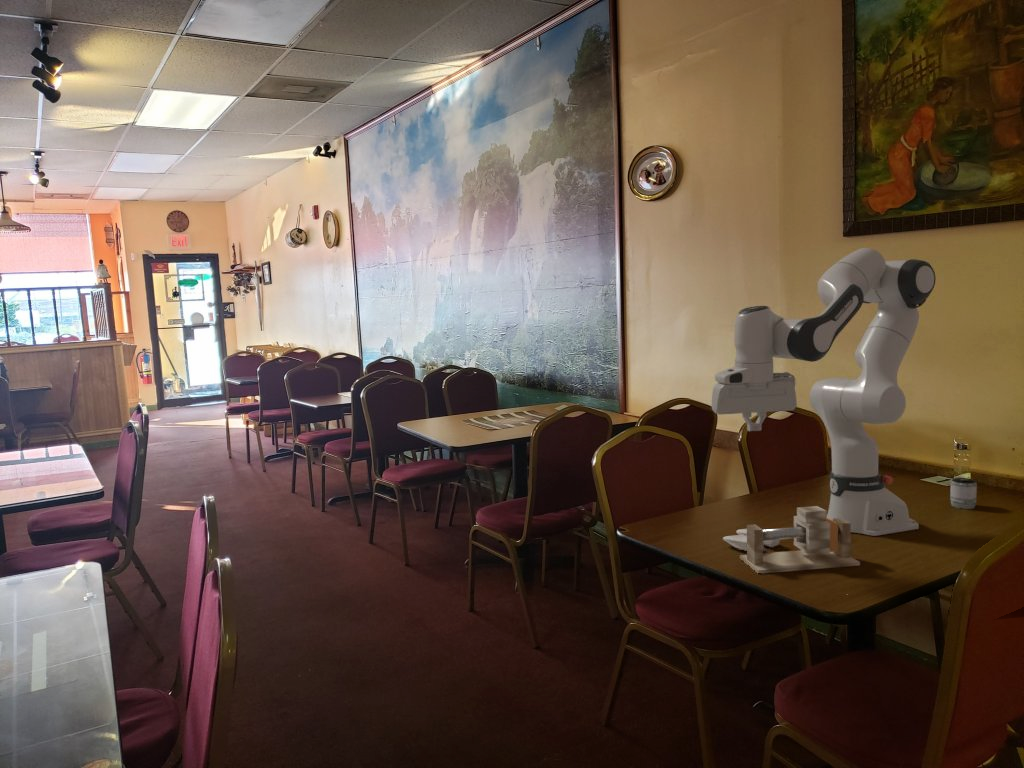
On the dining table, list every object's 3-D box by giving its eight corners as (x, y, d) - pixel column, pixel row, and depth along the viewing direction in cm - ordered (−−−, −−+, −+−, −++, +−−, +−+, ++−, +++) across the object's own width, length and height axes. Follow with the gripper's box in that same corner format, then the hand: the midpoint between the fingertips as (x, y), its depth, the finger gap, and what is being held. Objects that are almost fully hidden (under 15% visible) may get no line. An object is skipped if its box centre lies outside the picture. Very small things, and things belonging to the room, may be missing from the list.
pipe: (834, 533, 169) (834, 522, 169) (840, 536, 166) (840, 525, 166) (756, 539, 167) (756, 528, 167) (761, 542, 164) (761, 531, 164)
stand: (835, 550, 173) (835, 514, 172) (860, 565, 163) (860, 526, 163) (739, 558, 171) (739, 521, 170) (758, 573, 161) (758, 534, 160)
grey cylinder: (981, 509, 201) (982, 481, 200) (958, 509, 201) (959, 482, 200) (967, 503, 207) (968, 476, 207) (945, 503, 208) (945, 477, 207)
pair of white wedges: (785, 547, 178) (748, 537, 187) (784, 530, 178) (747, 521, 187) (753, 558, 172) (717, 547, 181) (753, 541, 171) (716, 531, 180)
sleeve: (813, 543, 171) (814, 504, 170) (829, 553, 164) (830, 512, 163) (793, 545, 170) (793, 505, 169) (808, 555, 164) (809, 514, 163)
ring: (822, 542, 171) (822, 515, 170) (837, 551, 164) (837, 523, 164) (814, 542, 171) (814, 516, 170) (829, 551, 164) (829, 524, 164)
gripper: (788, 370, 178) (788, 426, 180) (708, 374, 176) (709, 430, 178) (801, 372, 172) (801, 430, 173) (718, 377, 170) (719, 435, 171)
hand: (754, 430), depth 175 cm, fingers closed
